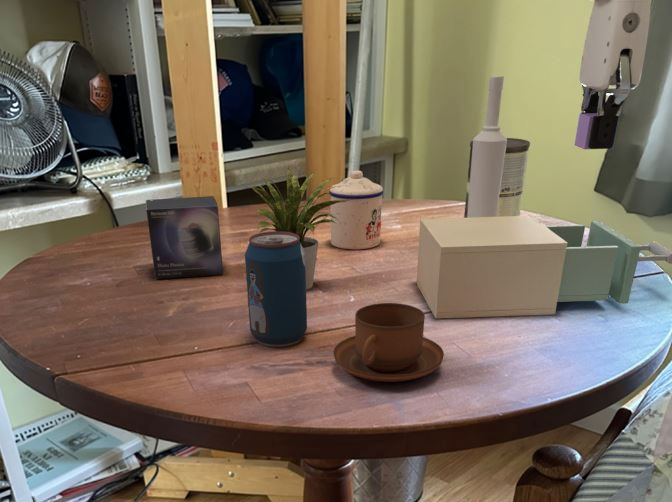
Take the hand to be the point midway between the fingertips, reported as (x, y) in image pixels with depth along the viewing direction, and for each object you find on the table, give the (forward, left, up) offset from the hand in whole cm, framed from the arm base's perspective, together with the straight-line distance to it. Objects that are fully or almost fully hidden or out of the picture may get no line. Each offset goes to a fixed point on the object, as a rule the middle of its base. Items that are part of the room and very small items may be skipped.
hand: (594, 144), depth 98 cm
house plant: (+43, +5, -17) cm, 47 cm away
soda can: (+45, +24, -17) cm, 54 cm away
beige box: (+17, +12, -17) cm, 27 cm away
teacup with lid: (+31, -20, -17) cm, 41 cm away
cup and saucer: (+33, +34, -17) cm, 51 cm away
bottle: (+11, -14, -17) cm, 25 cm away
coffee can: (+5, -29, -17) cm, 34 cm away
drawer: (+3, +12, -16) cm, 21 cm away
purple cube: (0, 0, 0) cm, 0 cm away
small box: (+59, -5, -17) cm, 62 cm away
